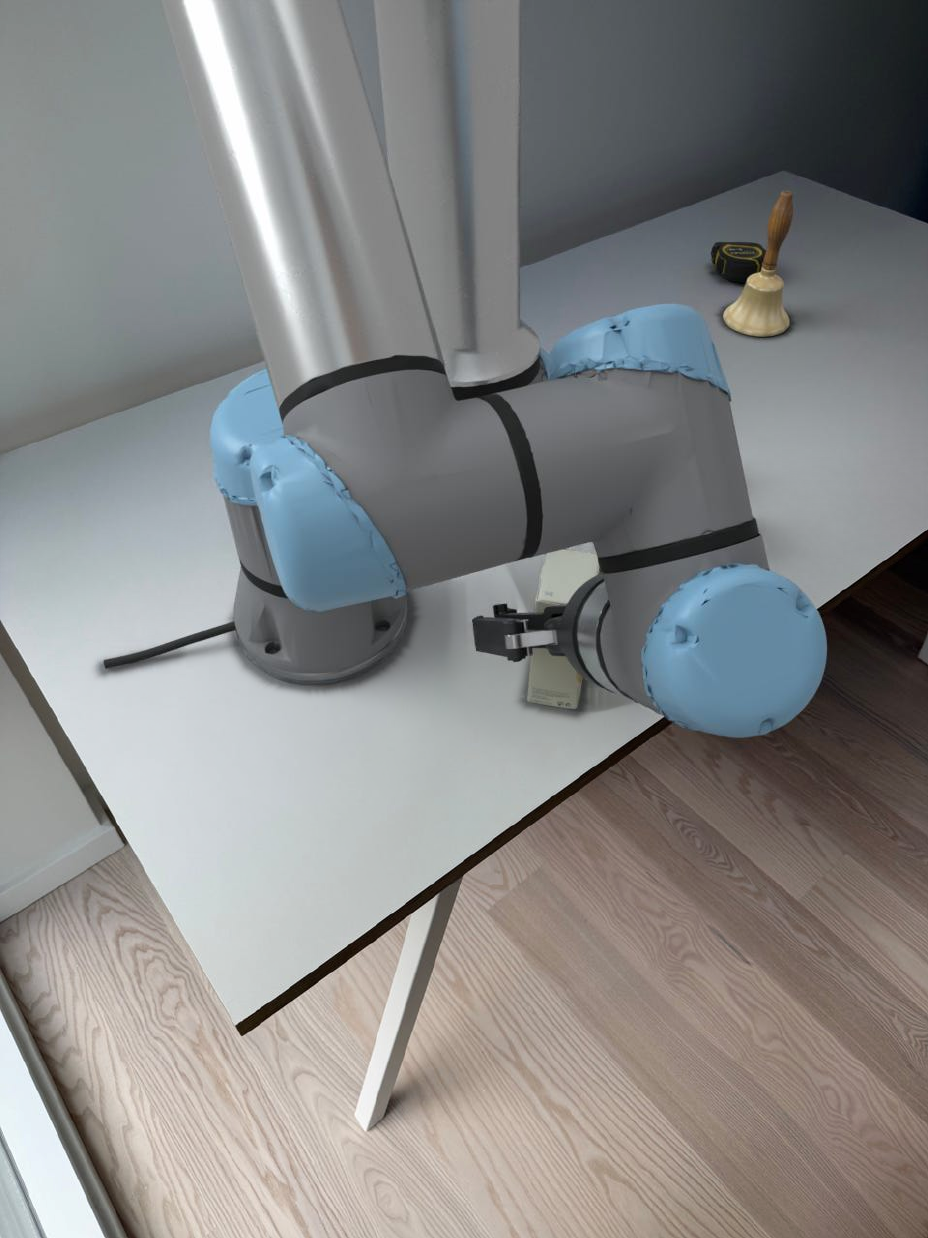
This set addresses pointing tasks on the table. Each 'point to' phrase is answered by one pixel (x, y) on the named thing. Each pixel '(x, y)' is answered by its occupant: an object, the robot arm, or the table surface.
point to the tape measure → (737, 259)
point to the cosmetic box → (557, 584)
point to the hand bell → (765, 282)
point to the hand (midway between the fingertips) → (550, 616)
